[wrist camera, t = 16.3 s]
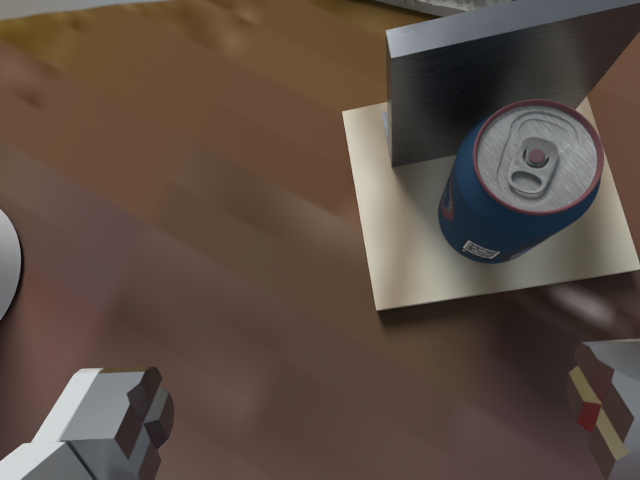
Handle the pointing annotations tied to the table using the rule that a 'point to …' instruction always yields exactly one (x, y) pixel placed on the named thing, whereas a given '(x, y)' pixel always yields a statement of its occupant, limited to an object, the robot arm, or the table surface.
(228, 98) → the table surface
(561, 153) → the soda can
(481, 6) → the packaged product
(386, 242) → the shelf plank
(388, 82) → the bookend
